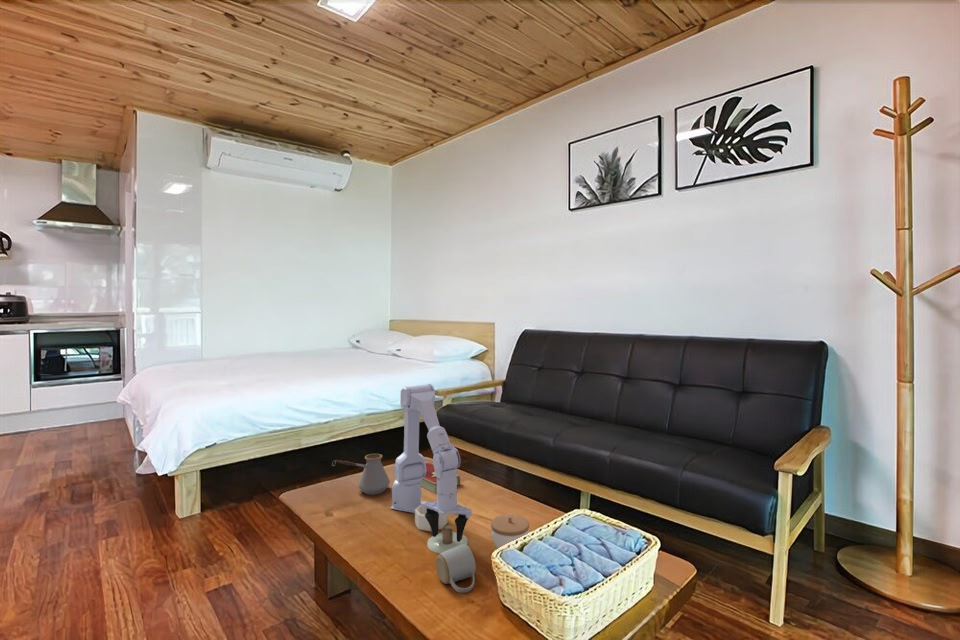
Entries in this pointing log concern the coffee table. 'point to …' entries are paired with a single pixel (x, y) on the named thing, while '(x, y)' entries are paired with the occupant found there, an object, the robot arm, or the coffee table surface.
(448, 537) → the lid
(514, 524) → the lidded jar
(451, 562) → the ceramic mug
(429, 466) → the hardcover book
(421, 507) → the bowl
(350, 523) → the coffee table surface
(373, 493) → the coffee pot
